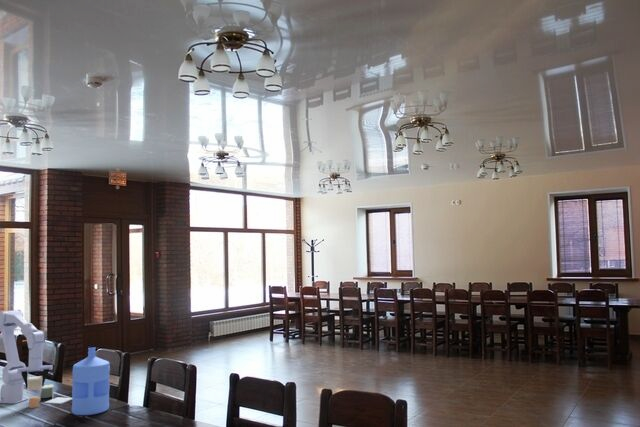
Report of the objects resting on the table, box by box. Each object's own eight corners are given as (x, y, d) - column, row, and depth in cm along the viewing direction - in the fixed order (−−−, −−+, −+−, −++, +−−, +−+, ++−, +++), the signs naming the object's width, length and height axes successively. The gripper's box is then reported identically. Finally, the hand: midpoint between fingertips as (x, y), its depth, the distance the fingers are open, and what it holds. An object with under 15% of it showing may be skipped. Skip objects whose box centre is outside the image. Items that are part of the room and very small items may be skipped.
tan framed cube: (27, 390, 248) (27, 377, 248) (41, 388, 251) (42, 376, 251) (27, 393, 243) (27, 380, 243) (41, 391, 246) (42, 378, 246)
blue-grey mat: (44, 403, 251) (44, 402, 251) (57, 398, 260) (57, 397, 260) (60, 404, 250) (61, 403, 250) (73, 399, 258) (73, 398, 258)
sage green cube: (39, 398, 261) (39, 385, 261) (52, 396, 264) (53, 384, 264) (39, 401, 256) (39, 388, 256) (53, 399, 258) (53, 386, 259)
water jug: (72, 408, 242) (73, 346, 244) (108, 404, 248) (109, 344, 251) (70, 417, 228) (72, 352, 230) (109, 413, 234) (110, 349, 236)
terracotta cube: (29, 406, 247) (29, 397, 247) (38, 405, 249) (39, 396, 249) (29, 408, 243) (29, 399, 244) (39, 407, 245) (39, 398, 246)
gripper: (17, 360, 241) (16, 390, 240) (53, 357, 248) (52, 386, 247) (18, 358, 247) (17, 387, 246) (52, 354, 254) (51, 383, 253)
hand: (34, 387), depth 247 cm, fingers closed on tan framed cube, 6 cm apart
